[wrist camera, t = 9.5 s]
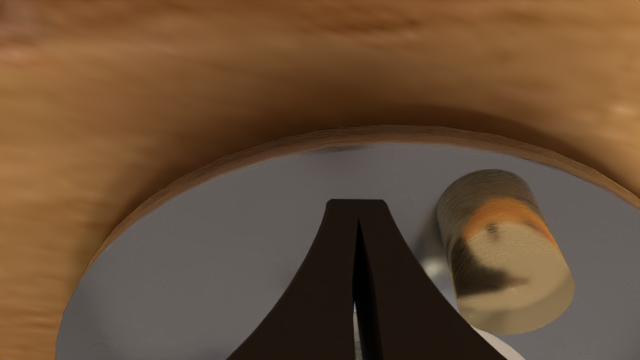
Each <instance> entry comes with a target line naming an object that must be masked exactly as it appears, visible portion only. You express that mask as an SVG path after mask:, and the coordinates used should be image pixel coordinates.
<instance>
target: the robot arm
mask: <svg viewBox="0 0 640 360" xmlns="http://www.w3.org/2000/svg"><path fill="white" fill-rule="evenodd" d="M354 303H355V308H356V316H357V324H358V332H359V339H360V347H361V355H362V360H508V359H506V358H505V357H504V356H503V355H502V354H500V353H499V352H498V351H497V350H496V349H495V348H494V347H493V346H492V345H491V344H490V343H488V342H487V341H486V340H485V339H484V338H483V337H482V336H481V335H480V334H479V333H478V332H477V331H475V330H474V329H473V328H472V327H471V326H470V324H469V323H468V322H467V321H466V320H465V319H464V318H463V317H462V316H461V315H460V314H459V313H458V312H457V311H456V310H455V308H454V307H453V306H452V305H451V304H450V303H449V302H448V300H447V299H446V298H445V297H444V296H443V294H442V293H441V292H440V291H439V289H438V288H437V287H436V286H435V284H434V283H433V282H432V280H431V279H430V277H429V276H428V275H427V273H426V272H425V271H424V269H423V268H422V266H421V265H420V263H419V262H418V260H417V259H416V257H415V256H414V254H413V253H412V251H411V249H410V248H409V246H408V245H407V243H406V241H405V240H404V238H403V236H402V234H401V232H400V231H399V229H398V227H397V225H396V223H395V221H394V219H393V217H392V215H391V212H390V210H389V208H388V205H387V203H386V202H385V201H384V200H383V199H330V200H329V201H328V202H326V209H325V212H324V216H323V219H322V222H321V225H320V227H319V230H318V232H317V235H316V237H315V239H314V241H313V243H312V245H311V247H310V249H309V251H308V253H307V255H306V257H305V259H304V261H303V262H302V264H301V266H300V268H299V269H298V271H297V273H296V274H295V276H294V278H293V279H292V281H291V283H290V284H289V286H288V287H287V289H286V290H285V292H284V293H283V294H282V296H281V297H280V299H279V300H278V301H277V303H276V304H275V305H274V307H273V308H272V309H271V311H270V312H269V313H268V314H267V316H266V317H265V318H264V319H263V320H262V322H261V323H260V324H259V325H258V326H257V328H256V329H255V330H254V331H253V332H252V333H251V334H250V335H249V337H248V338H247V339H246V340H245V341H244V342H243V343H242V344H241V345H240V346H239V347H238V348H237V349H236V350H235V351H234V352H233V353H232V354H231V355H230V356H229V357H228V358H227V359H226V360H356V355H355V339H354V320H353V315H354Z"/></svg>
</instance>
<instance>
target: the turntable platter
mask: <svg viewBox="0 0 640 360" xmlns="http://www.w3.org/2000/svg"><path fill="white" fill-rule="evenodd" d="M330 199H383V200H384V201H385V202H386V203H387V205H388V208H389V210H390V212H391V215H392V217H393V219H394V221H395V223H396V225H397V227H398V229H399V231H400V232H401V234H402V236H403V238H404V240H405V241H406V243H407V245H408V246H409V248H410V249H411V251H412V253H413V254H414V256H415V257H416V259H417V260H418V262H419V263H420V265H421V266H422V268H423V269H424V271H425V272H426V273H427V275H428V276H429V277H430V279H431V280H432V282H433V283H434V284H435V286H436V287H437V288H438V289H439V291H440V292H441V293H442V294H443V296H444V297H445V298H446V299H447V300H448V302H449V303H450V304H451V305H452V306H453V307H454V308H455V310H456V311H457V312H458V313H459V314H460V315H461V316H462V317H463V318H464V319H465V320H466V321H467V322H468V323H469V324H470V326H471V327H472V328H473V329H474V330H475V331H477V332H478V333H479V334H480V335H481V336H482V337H483V338H484V339H485V340H486V341H487V342H488V343H490V344H491V345H492V346H493V347H494V348H495V349H496V350H497V351H498V352H499V353H500V354H502V355H503V356H504V357H505V358H506V359H508V360H640V199H639V198H638V197H636V196H635V195H634V194H633V193H632V192H630V191H629V190H627V189H626V188H624V187H622V186H621V185H619V184H617V183H616V182H614V181H613V180H611V179H609V178H608V177H606V176H605V175H603V174H601V173H600V172H598V171H597V170H595V169H593V168H591V167H589V166H586V165H584V164H582V163H579V162H577V161H575V160H572V159H570V158H568V157H566V156H563V155H561V154H559V153H556V152H554V151H552V150H549V149H546V148H543V147H539V146H536V145H532V144H529V143H525V142H522V141H518V140H515V139H511V138H507V137H504V136H500V135H497V134H490V133H484V132H477V131H470V130H464V129H457V128H451V127H444V126H423V125H394V124H382V125H369V126H357V127H344V128H332V129H325V130H320V131H315V132H310V133H305V134H300V135H295V136H290V137H284V138H279V139H275V140H271V141H268V142H265V143H262V144H259V145H256V146H253V147H250V148H247V149H244V150H241V151H238V152H235V153H232V154H229V155H225V156H223V157H221V158H219V159H217V160H215V161H213V162H211V163H209V164H206V165H204V166H202V167H200V168H198V169H196V170H194V171H192V172H190V173H188V174H185V175H183V176H181V177H180V178H178V179H177V180H175V181H174V182H172V183H171V184H169V185H168V186H166V187H165V188H163V189H162V190H160V191H159V192H157V193H155V194H154V195H152V196H151V197H149V198H148V199H146V200H145V201H144V202H143V203H142V204H140V205H139V206H138V207H137V208H136V209H135V210H134V211H133V212H132V213H131V214H129V215H128V216H127V217H126V218H125V219H124V220H123V221H122V222H121V223H120V224H118V225H117V226H116V227H115V228H114V230H113V231H112V232H111V234H110V235H109V236H108V237H107V239H106V240H105V241H104V242H103V244H102V245H101V246H100V248H99V249H98V250H97V251H96V253H95V254H94V255H93V257H92V259H91V261H90V263H89V265H88V267H87V269H86V270H85V272H84V274H83V276H82V278H81V280H80V282H79V284H78V286H77V288H76V290H75V292H74V293H73V295H72V297H71V299H70V301H69V303H68V305H67V307H66V309H65V311H64V313H63V317H62V321H61V325H60V329H59V332H58V336H57V340H56V356H55V360H226V359H227V358H228V357H229V356H230V355H231V354H232V353H233V352H234V351H235V350H236V349H237V348H238V347H239V346H240V345H241V344H242V343H243V342H244V341H245V340H246V339H247V338H248V337H249V335H250V334H251V333H252V332H253V331H254V330H255V329H256V328H257V326H258V325H259V324H260V323H261V322H262V320H263V319H264V318H265V317H266V316H267V314H268V313H269V312H270V311H271V309H272V308H273V307H274V305H275V304H276V303H277V301H278V300H279V299H280V297H281V296H282V294H283V293H284V292H285V290H286V289H287V287H288V286H289V284H290V283H291V281H292V279H293V278H294V276H295V274H296V273H297V271H298V269H299V268H300V266H301V264H302V262H303V261H304V259H305V257H306V255H307V253H308V251H309V249H310V247H311V245H312V243H313V241H314V239H315V237H316V235H317V232H318V230H319V227H320V225H321V222H322V219H323V216H324V212H325V209H326V202H328V201H329V200H330ZM353 320H354V339H355V341H360V339H359V332H358V324H357V316H356V308H355V303H354V315H353Z"/></svg>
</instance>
